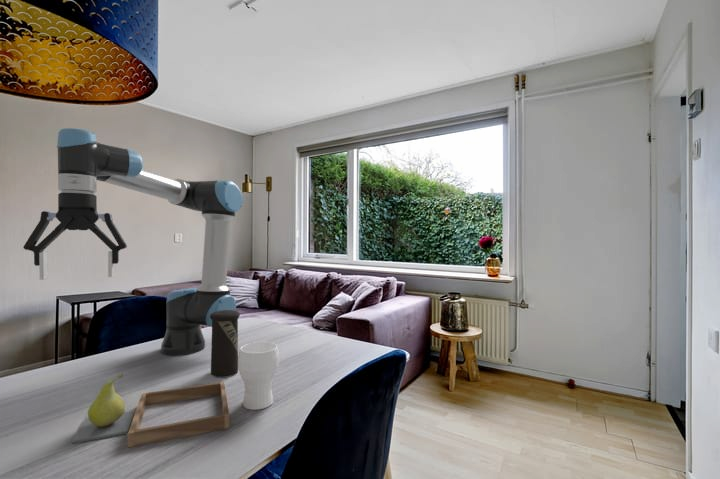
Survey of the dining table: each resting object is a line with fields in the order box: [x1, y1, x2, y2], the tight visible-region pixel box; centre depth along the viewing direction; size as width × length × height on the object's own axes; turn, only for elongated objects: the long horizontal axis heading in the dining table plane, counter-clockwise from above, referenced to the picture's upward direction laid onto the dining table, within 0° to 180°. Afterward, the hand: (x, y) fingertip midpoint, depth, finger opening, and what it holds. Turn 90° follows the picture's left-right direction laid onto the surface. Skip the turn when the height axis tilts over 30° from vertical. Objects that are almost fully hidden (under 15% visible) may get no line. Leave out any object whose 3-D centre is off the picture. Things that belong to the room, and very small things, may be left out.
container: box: [210, 310, 241, 378], centre depth 115 cm, size 9×9×20 cm
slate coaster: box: [71, 410, 136, 444], centre depth 82 cm, size 10×10×1 cm
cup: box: [238, 341, 280, 411], centre depth 95 cm, size 11×11×15 cm
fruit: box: [87, 373, 126, 427], centre depth 82 cm, size 7×8×12 cm
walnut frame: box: [127, 381, 230, 448], centre depth 88 cm, size 20×20×3 cm
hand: (78, 277), depth 90 cm, fingers open, 13 cm apart
